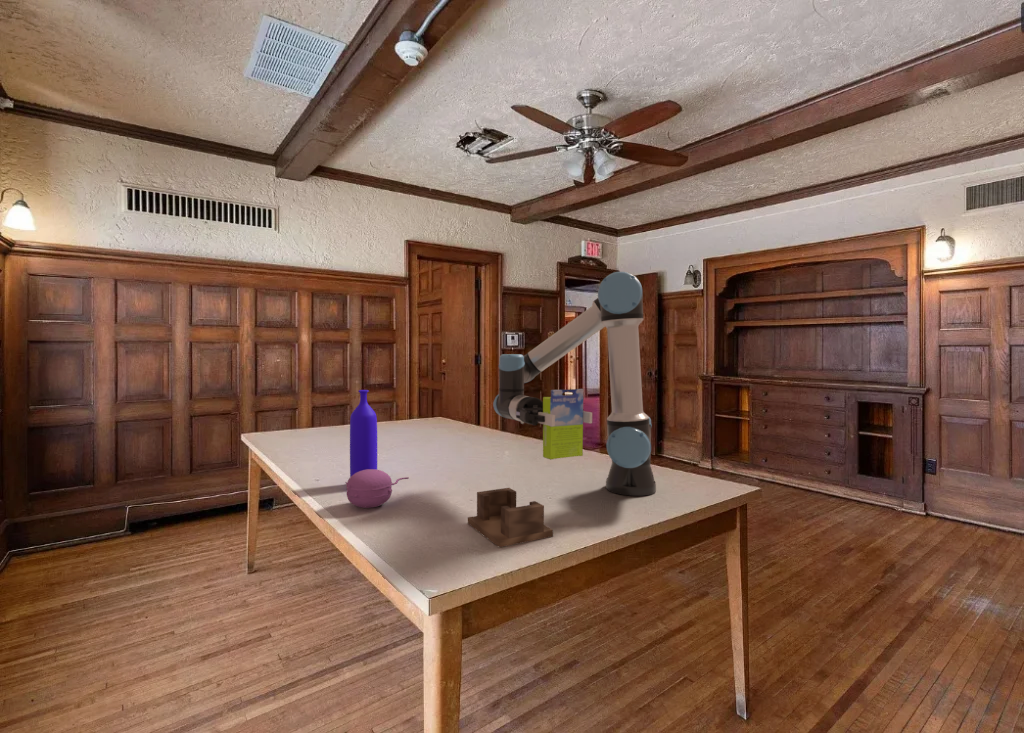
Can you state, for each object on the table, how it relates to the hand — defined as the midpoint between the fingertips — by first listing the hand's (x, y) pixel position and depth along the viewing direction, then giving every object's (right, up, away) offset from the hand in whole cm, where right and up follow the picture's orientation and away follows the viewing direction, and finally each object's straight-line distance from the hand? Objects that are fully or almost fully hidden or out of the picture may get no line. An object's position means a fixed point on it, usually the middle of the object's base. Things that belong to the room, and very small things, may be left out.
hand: (572, 419), depth 125 cm
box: (-2, -10, +4) cm, 11 cm away
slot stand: (-16, -26, -3) cm, 31 cm away
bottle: (-62, -25, +35) cm, 75 cm away
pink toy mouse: (-51, -25, +15) cm, 59 cm away
